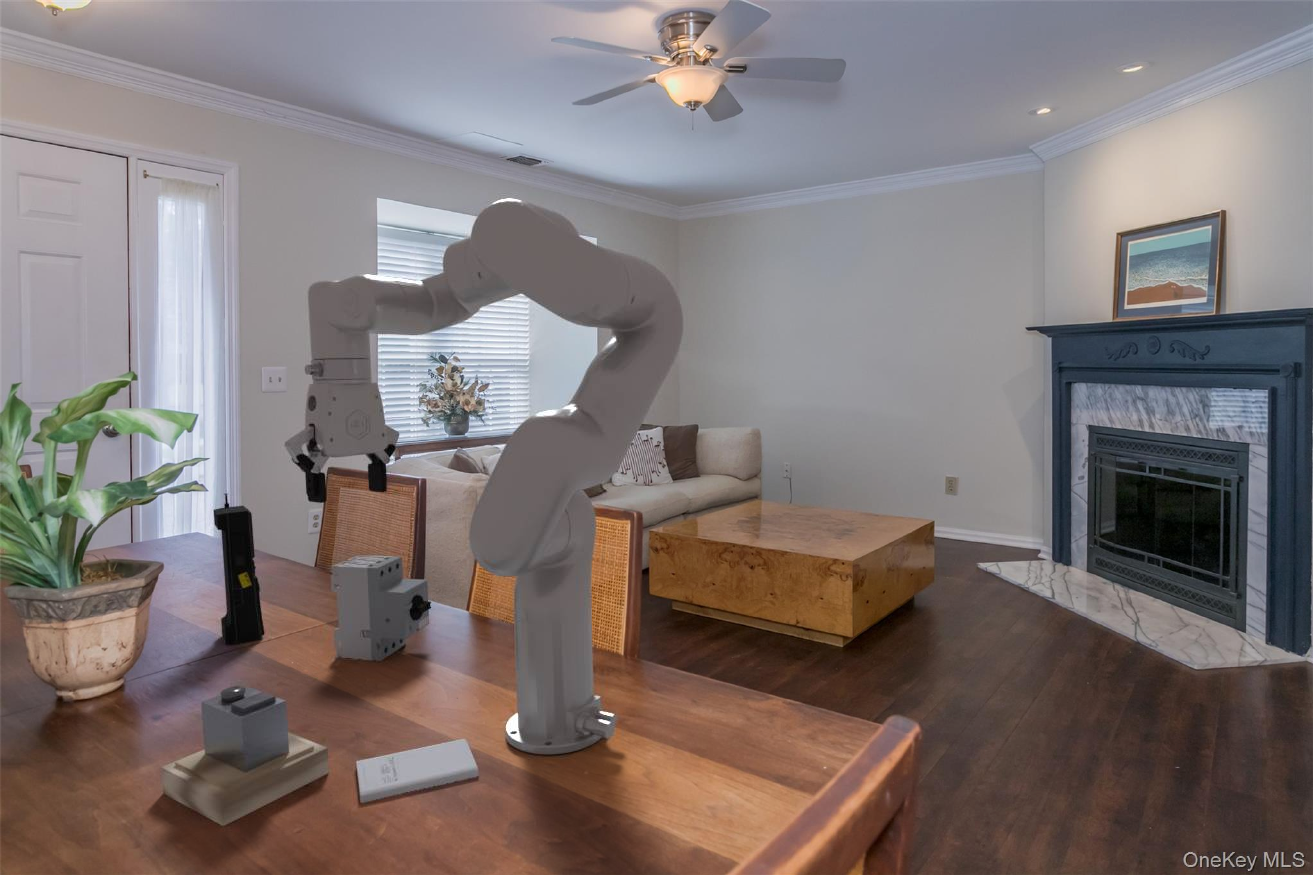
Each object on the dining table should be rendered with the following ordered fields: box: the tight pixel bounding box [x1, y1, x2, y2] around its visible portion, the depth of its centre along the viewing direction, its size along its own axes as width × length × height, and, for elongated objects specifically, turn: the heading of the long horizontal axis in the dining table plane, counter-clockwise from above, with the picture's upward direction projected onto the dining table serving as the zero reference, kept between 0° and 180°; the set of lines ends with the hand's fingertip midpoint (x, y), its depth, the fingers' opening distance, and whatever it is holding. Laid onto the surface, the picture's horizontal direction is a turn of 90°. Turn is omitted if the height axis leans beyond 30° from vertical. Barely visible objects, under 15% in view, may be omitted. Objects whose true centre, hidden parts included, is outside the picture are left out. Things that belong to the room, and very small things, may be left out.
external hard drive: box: [355, 738, 479, 804], centre depth 88 cm, size 2×8×12 cm
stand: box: [160, 731, 330, 827], centre depth 86 cm, size 12×12×3 cm
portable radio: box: [213, 493, 266, 645], centre depth 134 cm, size 8×6×25 cm
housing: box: [200, 685, 289, 773], centre depth 86 cm, size 8×5×7 cm, turn 58°
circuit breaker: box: [330, 554, 432, 662], centre depth 126 cm, size 8×14×15 cm, turn 79°
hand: (348, 496), depth 108 cm, fingers open, 9 cm apart
